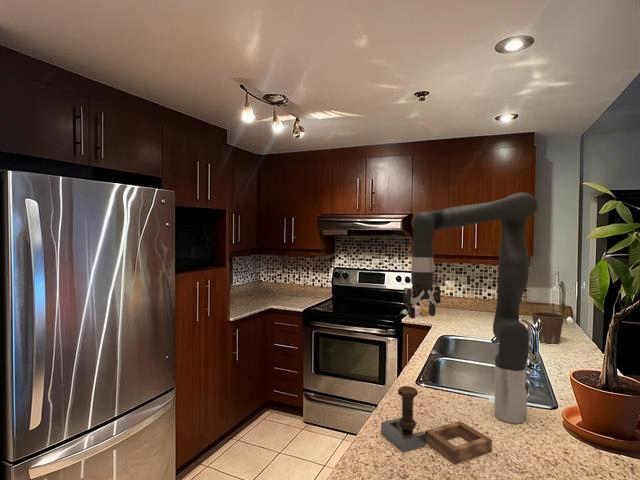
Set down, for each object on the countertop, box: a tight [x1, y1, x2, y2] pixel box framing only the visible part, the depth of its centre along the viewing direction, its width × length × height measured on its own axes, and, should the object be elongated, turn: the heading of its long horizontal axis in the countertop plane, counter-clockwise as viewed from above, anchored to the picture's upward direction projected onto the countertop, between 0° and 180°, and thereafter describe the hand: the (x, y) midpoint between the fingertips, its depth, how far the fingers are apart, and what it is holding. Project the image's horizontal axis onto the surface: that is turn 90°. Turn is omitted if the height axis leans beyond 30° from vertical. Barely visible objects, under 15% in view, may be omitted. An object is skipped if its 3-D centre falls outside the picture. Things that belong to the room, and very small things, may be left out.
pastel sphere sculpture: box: [399, 304, 429, 317], centre depth 292 cm, size 25×24×9 cm
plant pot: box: [531, 311, 566, 345], centre depth 220 cm, size 16×16×16 cm
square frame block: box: [424, 420, 493, 465], centre depth 113 cm, size 14×12×4 cm
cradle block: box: [380, 416, 427, 453], centre depth 117 cm, size 8×11×4 cm
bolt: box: [397, 385, 419, 436], centre depth 118 cm, size 6×5×15 cm
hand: (422, 317), depth 135 cm, fingers open, 8 cm apart
